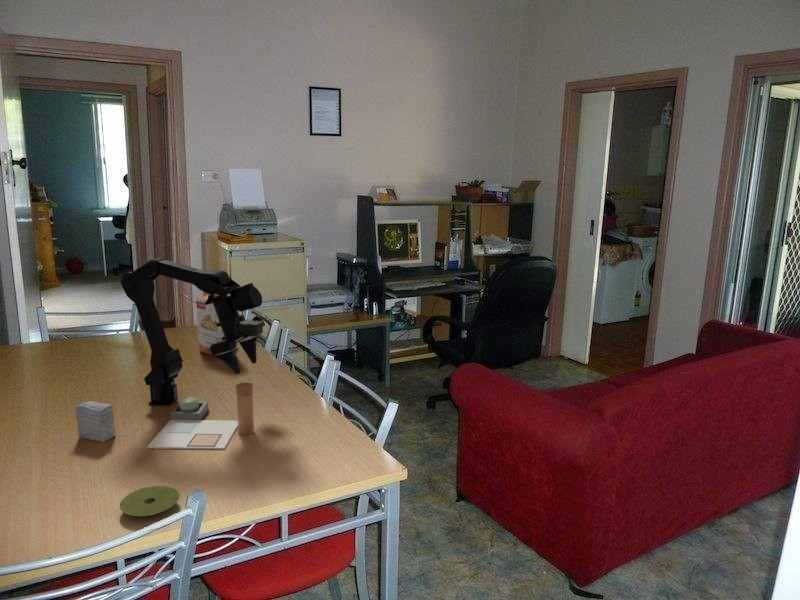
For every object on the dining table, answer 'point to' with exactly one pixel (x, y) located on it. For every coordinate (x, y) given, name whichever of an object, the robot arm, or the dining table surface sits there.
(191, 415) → the button housing
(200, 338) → the cracker box
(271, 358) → the dining table surface
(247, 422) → the brown tall rounded cylinder
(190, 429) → the colouring sheet
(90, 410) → the medicine box
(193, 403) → the button
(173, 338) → the dining table surface
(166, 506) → the green disc
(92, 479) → the dining table surface
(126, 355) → the dining table surface
